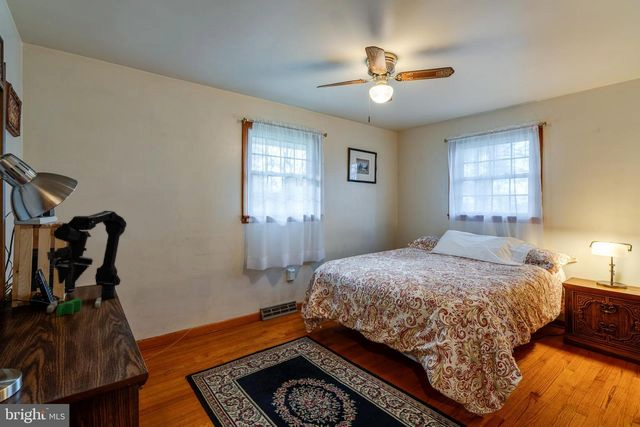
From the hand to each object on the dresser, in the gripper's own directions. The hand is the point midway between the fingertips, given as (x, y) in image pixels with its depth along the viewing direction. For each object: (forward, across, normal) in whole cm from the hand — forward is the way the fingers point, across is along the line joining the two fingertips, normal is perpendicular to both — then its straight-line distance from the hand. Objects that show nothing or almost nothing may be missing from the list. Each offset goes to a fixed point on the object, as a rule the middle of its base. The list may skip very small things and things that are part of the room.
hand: (66, 283), depth 121 cm
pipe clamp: (+11, -6, +8) cm, 15 cm away
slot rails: (+9, -13, +12) cm, 19 cm away
